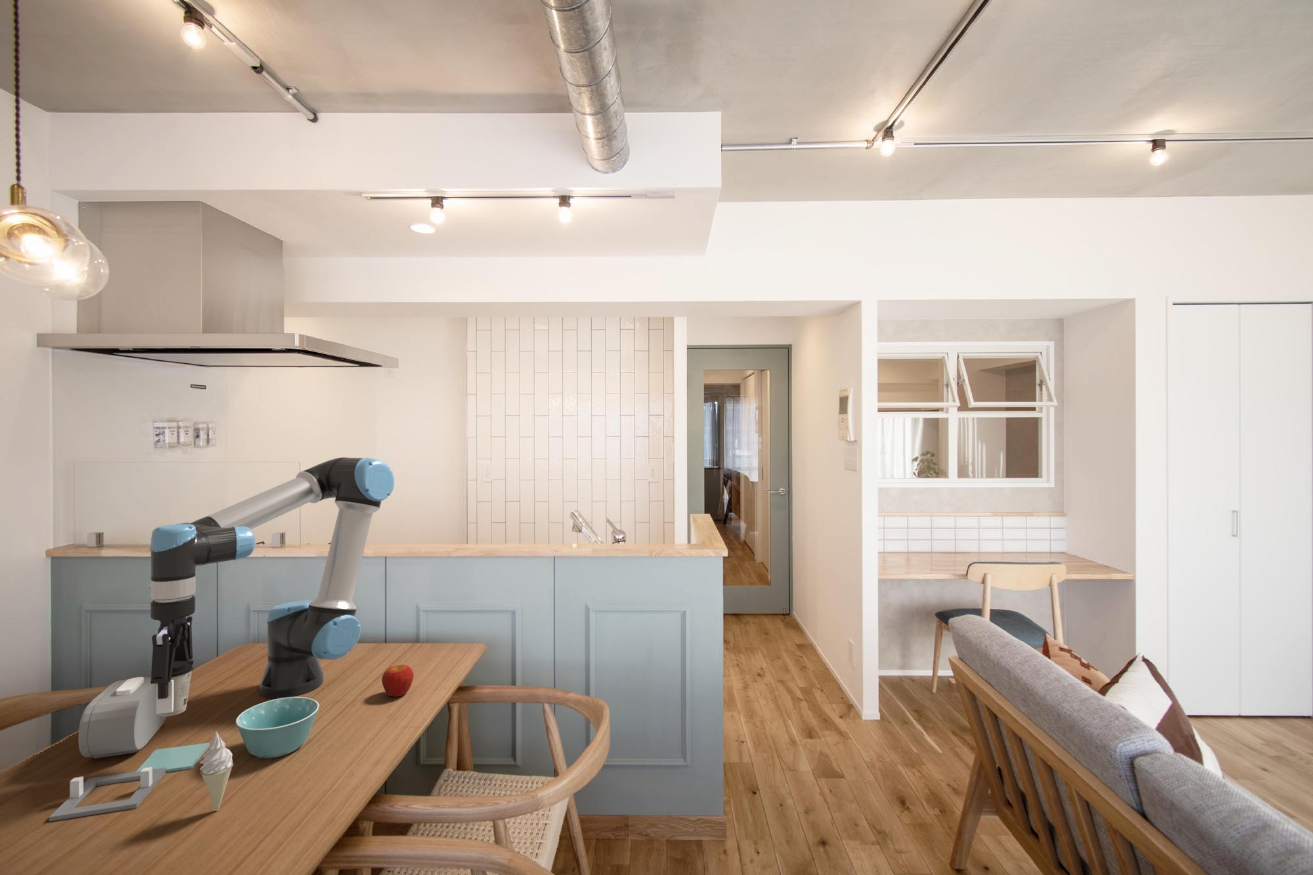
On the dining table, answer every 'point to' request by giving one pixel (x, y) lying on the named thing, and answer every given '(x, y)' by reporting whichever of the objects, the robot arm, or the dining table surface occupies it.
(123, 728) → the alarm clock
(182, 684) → the coffee cup
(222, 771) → the ice cream cone
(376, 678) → the dining table surface
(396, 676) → the apple
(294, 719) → the bowl
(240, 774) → the dining table surface
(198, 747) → the coaster
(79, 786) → the collar
